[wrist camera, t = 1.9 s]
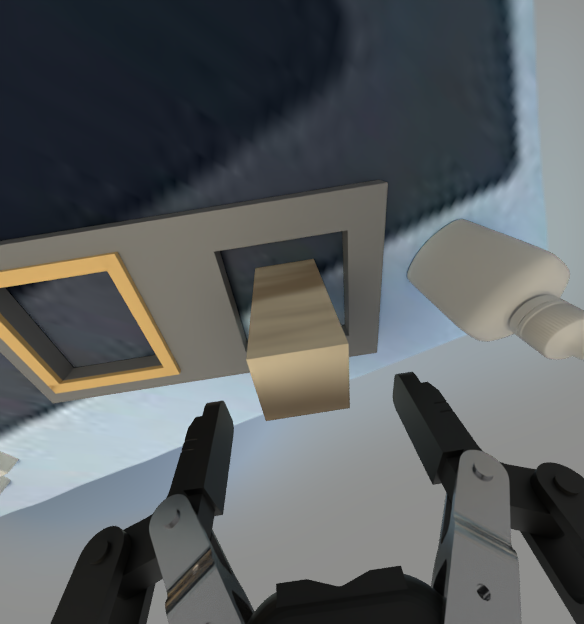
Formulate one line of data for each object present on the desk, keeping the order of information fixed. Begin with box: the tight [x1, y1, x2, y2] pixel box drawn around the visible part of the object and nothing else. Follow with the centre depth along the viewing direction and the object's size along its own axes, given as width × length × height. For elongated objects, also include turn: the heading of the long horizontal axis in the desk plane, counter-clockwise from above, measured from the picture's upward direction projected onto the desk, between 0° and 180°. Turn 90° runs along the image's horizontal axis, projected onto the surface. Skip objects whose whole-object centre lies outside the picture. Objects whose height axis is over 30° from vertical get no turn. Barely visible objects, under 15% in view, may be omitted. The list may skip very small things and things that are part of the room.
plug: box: [246, 259, 350, 421], centre depth 17 cm, size 4×4×10 cm
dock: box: [0, 180, 388, 403], centre depth 20 cm, size 14×30×2 cm, turn 98°
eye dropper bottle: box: [407, 219, 584, 361], centre depth 15 cm, size 4×6×12 cm
